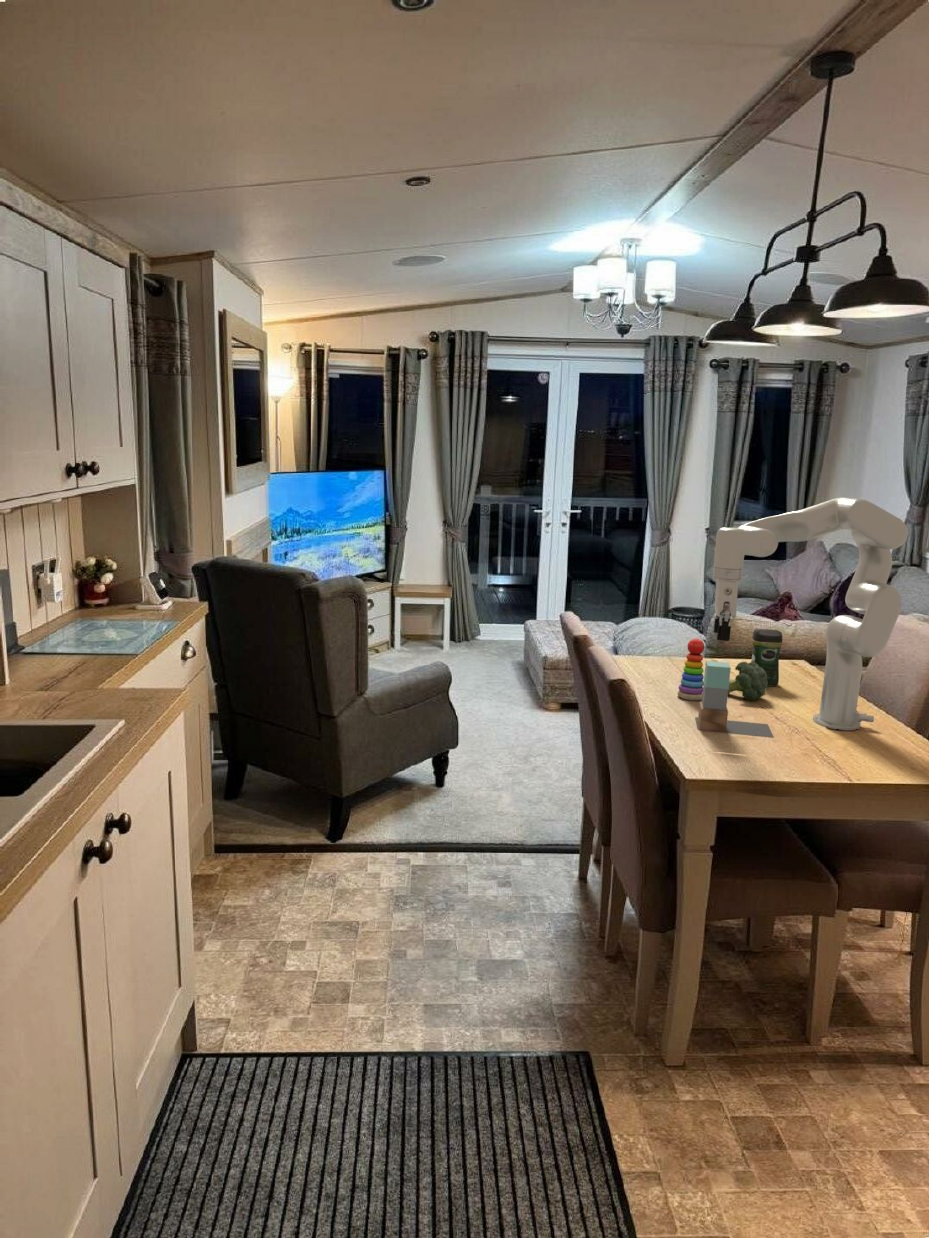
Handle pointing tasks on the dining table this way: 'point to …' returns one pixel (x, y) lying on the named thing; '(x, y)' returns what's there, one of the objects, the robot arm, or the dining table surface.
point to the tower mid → (714, 698)
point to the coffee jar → (767, 652)
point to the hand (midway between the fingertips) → (721, 636)
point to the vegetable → (749, 681)
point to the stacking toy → (693, 672)
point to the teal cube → (717, 675)
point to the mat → (745, 728)
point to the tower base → (712, 719)
